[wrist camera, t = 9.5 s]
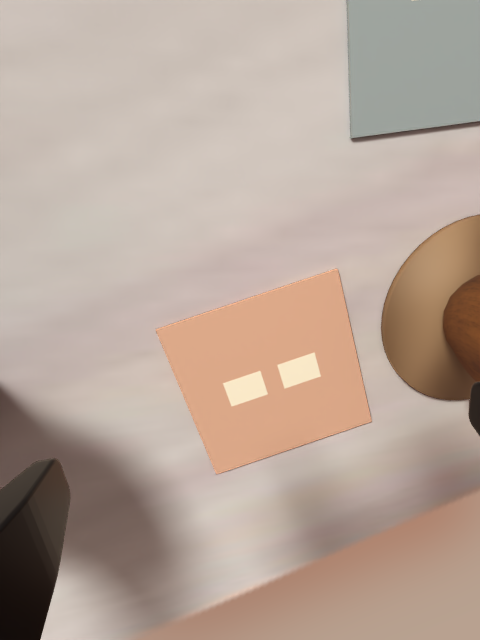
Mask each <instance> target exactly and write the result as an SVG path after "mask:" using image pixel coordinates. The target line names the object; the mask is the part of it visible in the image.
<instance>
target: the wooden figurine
mask: <svg viewBox="0 0 480 640" xmlns="http://www.w3.org/2000/svg"><path fill="white" fill-rule="evenodd" d="M443 328H444V333H445V337H446V341H447V342H448V344H449V345H450V347H451V348H452V350H453V351H454V353H455V355H456V357H457V358H458V360H459V362H460V363H461V364H462V366H463V367H464V368H465V370H466V371H467V372H468V373H469V375H470V376H471V377H472V378H473V379H474V380H475V381H476V382H479V381H480V275H477V276H475V277H473V278H472V279H470V280H468V281H467V282H465V283H464V284H462V285H461V286H460V287H459V288H458V289H457V290H456V291H455V292H454V293H453V294H452V295H451V296H450V298H449V300H448V303H447V305H446V307H445V310H444V316H443Z"/></svg>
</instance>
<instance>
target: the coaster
mask: <svg viewBox="0 0 480 640" xmlns="http://www.w3.org/2000/svg"><path fill="white" fill-rule="evenodd" d="M477 275H480V215H475V216H471V217H467V218H464V219H461V220H459V221H456V222H454V223H452V224H450V225H448V226H446V227H444V228H442V229H441V230H439V231H438V232H436V233H434V234H433V235H431V236H430V237H429V238H428V239H427V240H425V241H424V242H423V243H422V244H421V245H419V246H418V248H417V249H416V250H415V251H414V252H413V253H412V254H411V255H410V256H409V257H408V259H407V260H406V261H405V262H404V264H403V265H402V266H401V268H400V270H399V271H398V273H397V274H396V276H395V278H394V280H393V282H392V284H391V286H390V288H389V291H388V293H387V297H386V300H385V303H384V307H383V312H382V322H381V332H382V341H383V346H384V350H385V353H386V355H387V358H388V360H389V362H390V364H391V365H392V367H393V369H394V370H395V371H396V372H397V374H398V375H399V376H400V377H401V378H402V379H403V380H404V381H405V382H407V383H408V384H409V385H410V386H411V387H413V388H414V389H416V390H417V391H419V392H421V393H423V394H425V395H428V396H431V397H434V398H438V399H445V400H464V399H470V392H471V387H472V385H473V384H474V383H475V382H476V381H475V380H474V379H473V378H472V377H471V376H470V375H469V373H468V372H467V371H466V370H465V368H464V367H463V366H462V364H461V363H460V362H459V360H458V358H457V357H456V355H455V353H454V351H453V350H452V348H451V347H450V345H449V344H448V342H447V341H446V337H445V333H444V328H443V316H444V310H445V307H446V305H447V303H448V300H449V298H450V296H451V295H452V294H453V293H454V292H455V291H456V290H457V289H458V288H459V287H460V286H461V285H462V284H464V283H465V282H467V281H468V280H470V279H472V278H473V277H475V276H477Z"/></svg>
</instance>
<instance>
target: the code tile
mask: <svg viewBox="0 0 480 640" xmlns="http://www.w3.org/2000/svg"><path fill="white" fill-rule="evenodd" d="M347 24H348V62H349V100H350V138H356V137H364V136H371V135H379V134H386V133H394V132H402V131H409V130H417V129H424V128H432V127H439V126H447V125H454V124H462V123H470V122H477V121H480V0H347Z"/></svg>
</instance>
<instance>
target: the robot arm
mask: <svg viewBox="0 0 480 640" xmlns="http://www.w3.org/2000/svg"><path fill="white" fill-rule="evenodd" d="M469 419H470V422H471V424H472V426H473V427H474V429H475V430H476V432H477V433H478V434H479V436H480V381H479V382H475V383H474V384H473V385H472V387H471V392H470V403H469ZM69 505H70V489H69V486H68V483H67V480H66V478H65V475H64V472H63V469H62V466H61V464H60V462H59V460H58V459H55V458H52V459H46V460H41V461H37V462H35V463H33V464H32V465H31V466H30V467H28V468H27V469H26V470H25V471H23V472H22V473H21V474H20V475H18V476H17V477H16V478H15V479H13V480H12V481H11V482H10V483H9V484H7V485H6V486H5V487H4V488H2V489H1V490H0V640H40V639H41V635H42V631H43V628H44V624H45V621H46V617H47V613H48V610H49V606H50V602H51V599H52V595H53V592H54V588H55V584H56V580H57V576H58V571H59V565H60V560H61V554H62V548H63V541H64V535H65V529H66V523H67V517H68V511H69Z"/></svg>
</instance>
